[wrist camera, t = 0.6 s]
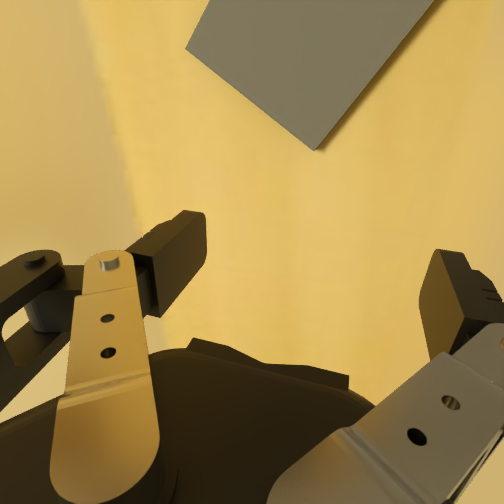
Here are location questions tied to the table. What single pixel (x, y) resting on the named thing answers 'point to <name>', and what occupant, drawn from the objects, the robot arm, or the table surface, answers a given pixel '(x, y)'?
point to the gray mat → (302, 53)
